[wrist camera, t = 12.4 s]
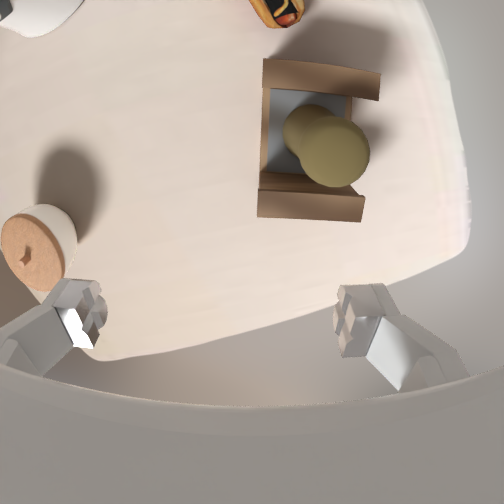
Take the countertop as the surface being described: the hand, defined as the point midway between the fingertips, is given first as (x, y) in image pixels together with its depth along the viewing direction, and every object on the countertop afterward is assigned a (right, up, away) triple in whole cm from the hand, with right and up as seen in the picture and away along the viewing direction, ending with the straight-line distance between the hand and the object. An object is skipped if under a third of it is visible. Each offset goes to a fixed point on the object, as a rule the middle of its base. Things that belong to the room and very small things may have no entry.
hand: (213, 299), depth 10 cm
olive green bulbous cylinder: (+7, +14, +18) cm, 24 cm away
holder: (+7, +14, +20) cm, 25 cm away
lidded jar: (-26, +5, +26) cm, 37 cm away
